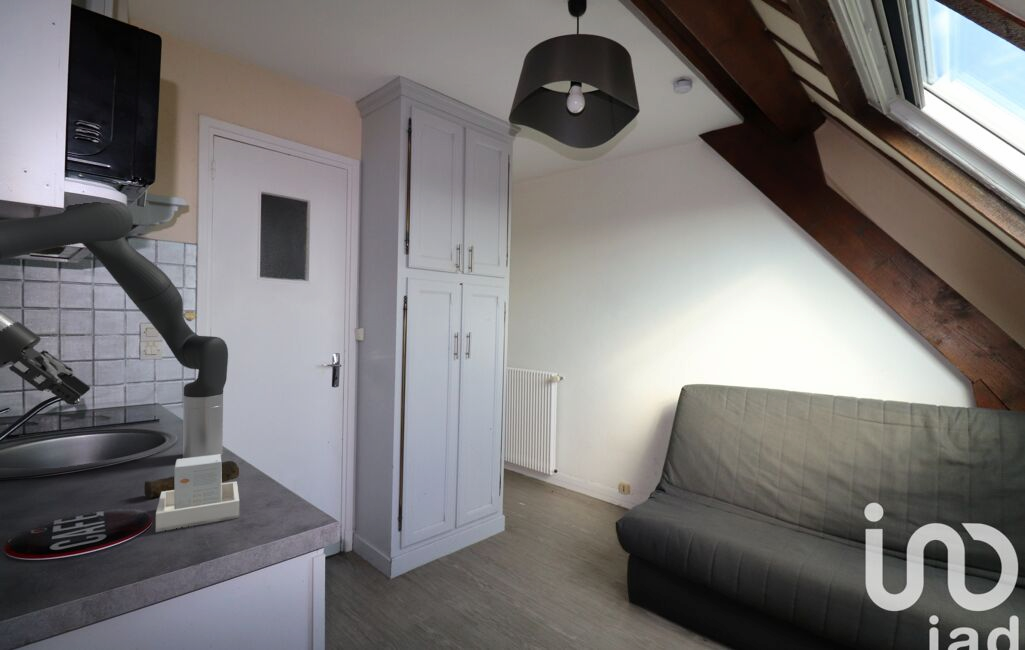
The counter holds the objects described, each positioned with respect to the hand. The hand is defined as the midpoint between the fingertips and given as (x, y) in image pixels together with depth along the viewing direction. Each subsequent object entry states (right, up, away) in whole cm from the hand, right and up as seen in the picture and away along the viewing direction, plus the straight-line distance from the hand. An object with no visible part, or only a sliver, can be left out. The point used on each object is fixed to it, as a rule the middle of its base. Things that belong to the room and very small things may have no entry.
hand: (81, 396), depth 91 cm
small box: (+17, -25, +8) cm, 31 cm away
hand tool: (+7, -25, +22) cm, 34 cm away
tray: (+17, -25, +8) cm, 31 cm away
